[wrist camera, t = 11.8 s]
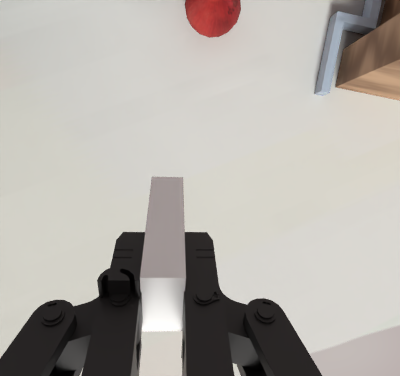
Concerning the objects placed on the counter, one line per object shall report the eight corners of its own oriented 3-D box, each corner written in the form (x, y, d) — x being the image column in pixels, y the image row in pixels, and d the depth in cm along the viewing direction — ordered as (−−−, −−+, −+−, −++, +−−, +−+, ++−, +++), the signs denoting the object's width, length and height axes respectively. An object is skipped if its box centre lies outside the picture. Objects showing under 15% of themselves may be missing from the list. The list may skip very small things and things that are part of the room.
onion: (219, -16, 41) (229, -57, 33) (243, 30, 41) (258, 0, 33) (176, 9, 41) (174, -26, 33) (200, 55, 41) (205, 31, 33)
